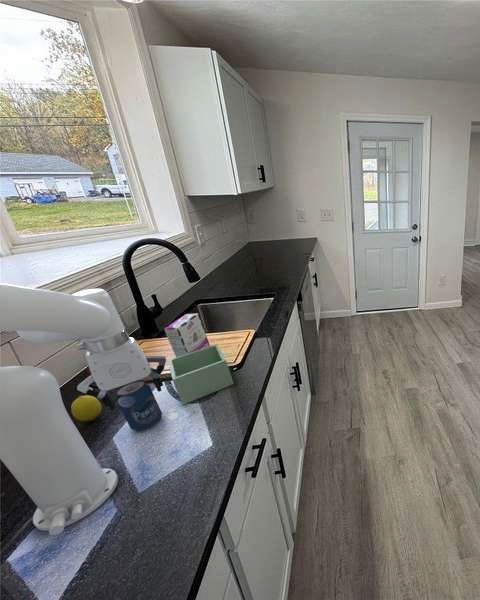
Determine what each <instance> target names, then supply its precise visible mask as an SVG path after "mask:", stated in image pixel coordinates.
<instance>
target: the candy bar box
mask: <svg viewBox="0 0 480 600" xmlns="http://www.w3.org/2000/svg"><path fill="white" fill-rule="evenodd" d="M163 330H164V333H165V336H166V337H167V339H168V342H169V344H170V347H171V349H172V351H173V354H174V356H175V358H176V357H179V356H182V355H185V354H188V353H191V352H194V351H197V350H200V349H203V348H206V347H209V346H211V344H210V342H209V339H208V336H207V334H206V331H205V329H204V326H203V323H202V320H201V317H200V315H199V313H197V312H196V313H186V314H184V315H182V316H181V317H179V318H178V319H176V320H175V321H173V322H172V323H170V324H169V325H168V326H166V327H164V329H163Z"/></svg>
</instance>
